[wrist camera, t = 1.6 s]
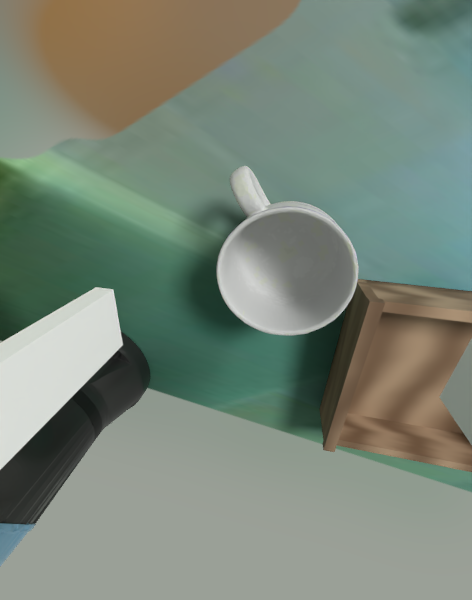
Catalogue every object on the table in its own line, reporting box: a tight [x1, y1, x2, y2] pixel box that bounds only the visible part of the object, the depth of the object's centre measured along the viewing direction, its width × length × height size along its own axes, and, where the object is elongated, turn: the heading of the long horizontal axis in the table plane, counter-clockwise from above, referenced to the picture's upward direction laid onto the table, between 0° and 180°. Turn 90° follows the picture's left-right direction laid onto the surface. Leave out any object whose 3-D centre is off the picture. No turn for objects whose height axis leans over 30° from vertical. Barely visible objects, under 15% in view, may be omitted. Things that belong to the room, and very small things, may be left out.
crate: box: [320, 279, 472, 472], centre depth 27 cm, size 20×19×6 cm
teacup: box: [216, 166, 358, 335], centre depth 23 cm, size 14×11×8 cm
